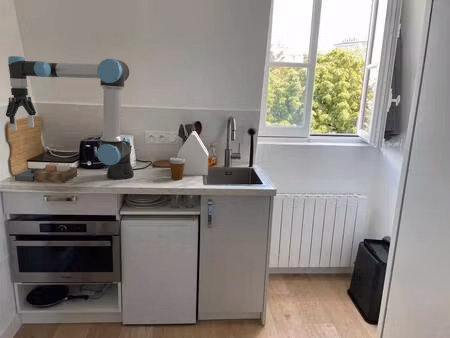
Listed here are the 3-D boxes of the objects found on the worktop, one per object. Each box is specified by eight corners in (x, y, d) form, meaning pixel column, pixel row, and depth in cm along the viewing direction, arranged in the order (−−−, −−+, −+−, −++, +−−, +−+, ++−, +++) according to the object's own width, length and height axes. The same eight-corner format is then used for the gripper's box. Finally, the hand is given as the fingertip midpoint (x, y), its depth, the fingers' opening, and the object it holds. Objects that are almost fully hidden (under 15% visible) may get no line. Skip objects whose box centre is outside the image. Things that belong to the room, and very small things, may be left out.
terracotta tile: (59, 168, 196) (59, 163, 195) (54, 170, 191) (54, 165, 190) (50, 168, 196) (50, 163, 195) (45, 170, 191) (45, 164, 191)
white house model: (207, 169, 232) (209, 131, 226) (207, 175, 217) (209, 135, 211) (178, 168, 231) (179, 130, 225) (176, 174, 216) (177, 133, 210)
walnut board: (77, 175, 202) (77, 167, 201) (64, 183, 187) (63, 173, 186) (49, 174, 203) (49, 165, 202) (34, 181, 187) (33, 172, 186)
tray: (49, 174, 203) (48, 169, 202) (33, 181, 187) (33, 176, 186) (31, 173, 203) (31, 168, 202) (15, 180, 187) (14, 175, 187)
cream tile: (70, 169, 196) (69, 164, 195) (65, 171, 191) (65, 165, 190) (61, 168, 196) (60, 163, 195) (56, 170, 191) (56, 165, 190)
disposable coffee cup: (176, 181, 199) (176, 161, 196) (165, 178, 205) (165, 158, 202) (188, 179, 206) (189, 159, 203) (178, 175, 212) (178, 156, 209)
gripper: (28, 87, 194) (31, 125, 199) (-6, 87, 170) (-1, 131, 175) (41, 87, 193) (44, 126, 198) (8, 87, 169) (13, 131, 174)
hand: (23, 128), depth 187 cm, fingers open, 13 cm apart
